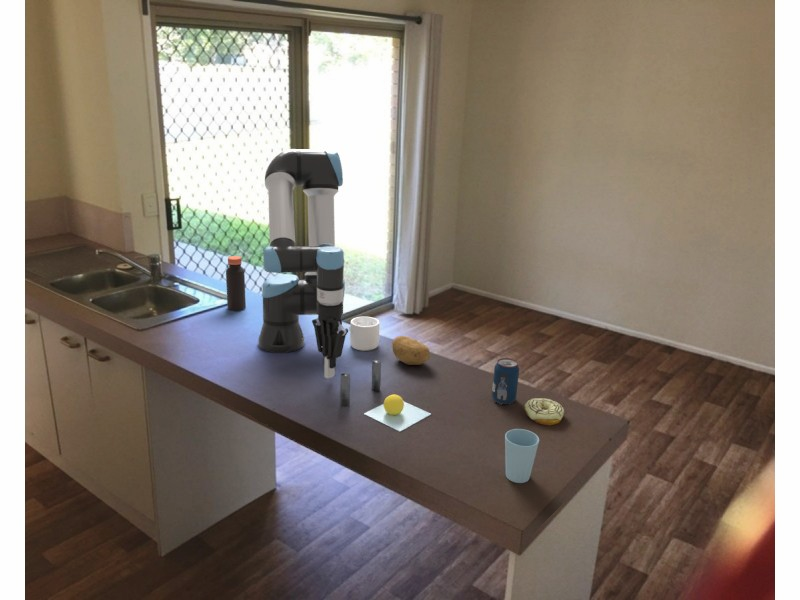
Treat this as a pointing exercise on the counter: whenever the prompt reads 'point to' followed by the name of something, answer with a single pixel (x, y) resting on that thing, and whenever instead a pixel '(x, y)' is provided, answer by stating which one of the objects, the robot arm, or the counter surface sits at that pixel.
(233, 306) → the bottle
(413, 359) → the potato
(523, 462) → the cup
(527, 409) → the decorated donut
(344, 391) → the post
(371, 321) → the mug
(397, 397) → the ball
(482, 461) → the counter surface
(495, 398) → the soda can
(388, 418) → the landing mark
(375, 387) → the post
